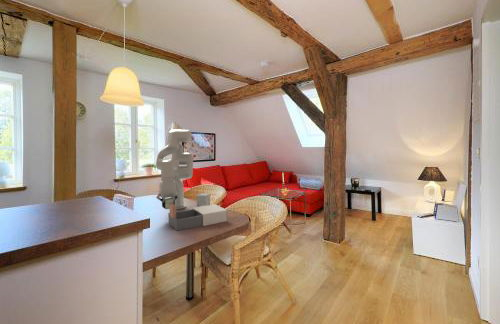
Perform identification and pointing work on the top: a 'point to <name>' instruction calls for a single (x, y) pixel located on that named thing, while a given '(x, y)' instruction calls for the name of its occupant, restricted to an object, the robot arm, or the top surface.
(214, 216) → the white drawer housing
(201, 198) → the supplement box
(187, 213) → the tray
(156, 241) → the top surface
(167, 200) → the sage block
